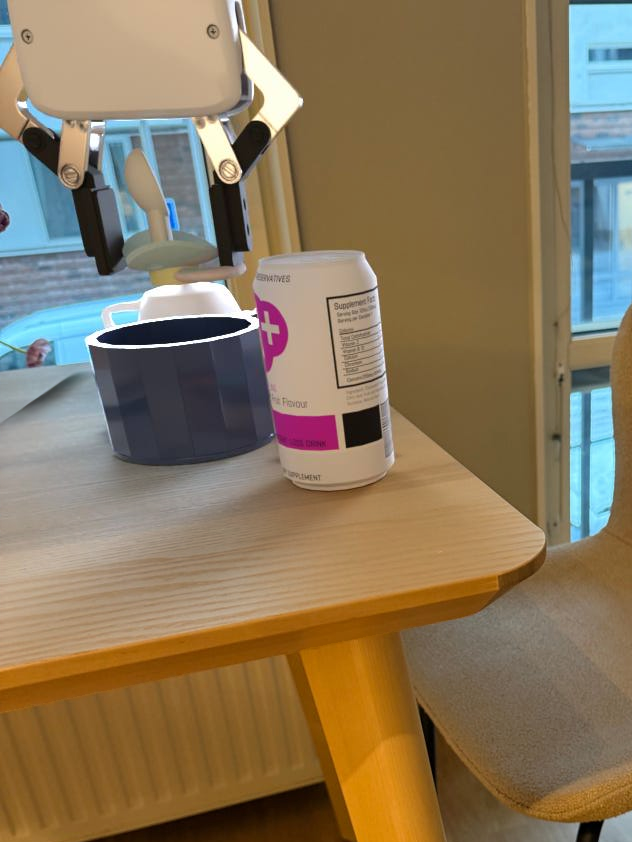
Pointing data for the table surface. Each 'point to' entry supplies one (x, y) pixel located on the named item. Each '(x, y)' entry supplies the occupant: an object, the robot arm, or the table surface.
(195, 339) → the canister
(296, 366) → the supplement can
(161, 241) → the pacifier
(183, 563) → the table surface
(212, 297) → the teapot
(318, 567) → the table surface
